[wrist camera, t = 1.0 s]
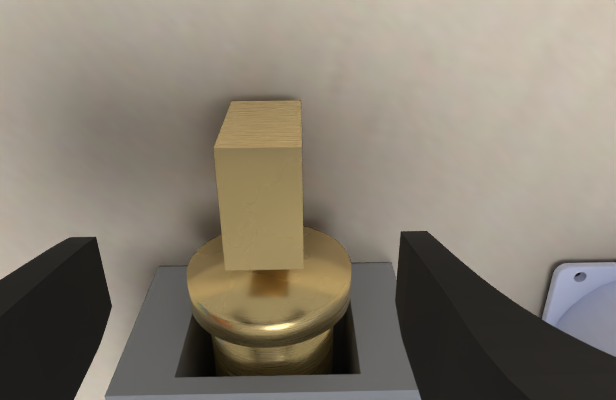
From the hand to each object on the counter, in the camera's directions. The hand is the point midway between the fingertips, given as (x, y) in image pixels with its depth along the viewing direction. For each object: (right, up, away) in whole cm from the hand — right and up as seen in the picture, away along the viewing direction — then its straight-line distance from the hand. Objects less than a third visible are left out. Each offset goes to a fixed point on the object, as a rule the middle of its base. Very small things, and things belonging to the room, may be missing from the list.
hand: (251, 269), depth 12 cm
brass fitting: (0, -1, +10) cm, 10 cm away
